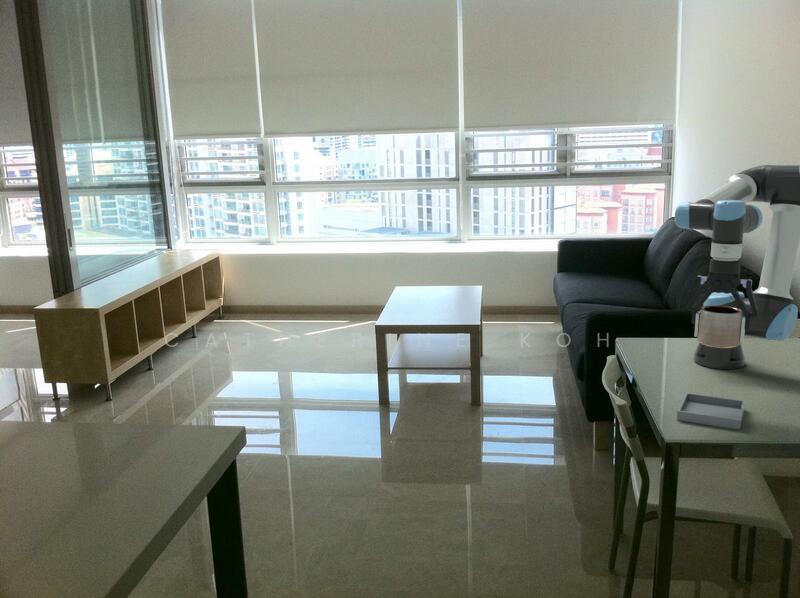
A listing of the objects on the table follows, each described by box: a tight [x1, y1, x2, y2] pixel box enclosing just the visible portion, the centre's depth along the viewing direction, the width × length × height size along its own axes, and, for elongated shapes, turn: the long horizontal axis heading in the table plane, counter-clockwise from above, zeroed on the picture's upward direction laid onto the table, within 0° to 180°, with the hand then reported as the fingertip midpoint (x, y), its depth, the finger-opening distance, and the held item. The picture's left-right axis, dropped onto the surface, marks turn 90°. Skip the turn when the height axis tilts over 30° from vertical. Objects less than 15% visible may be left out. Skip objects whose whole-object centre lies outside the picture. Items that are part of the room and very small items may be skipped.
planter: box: [697, 305, 743, 348], centre depth 202 cm, size 11×11×10 cm
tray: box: [676, 392, 746, 431], centre depth 198 cm, size 15×15×2 cm
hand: (718, 338), depth 203 cm, fingers closed on planter, 11 cm apart
